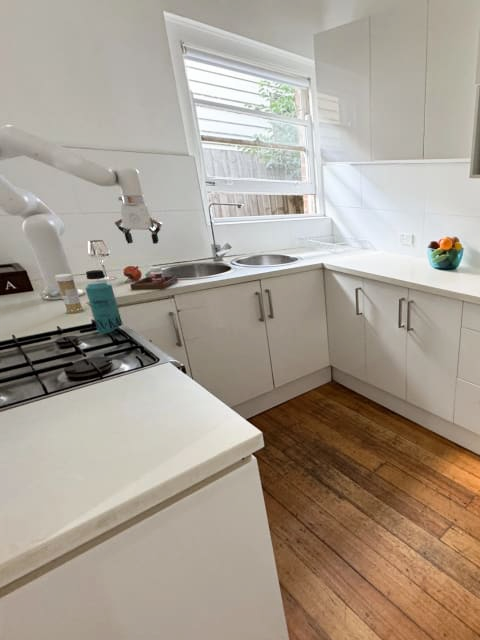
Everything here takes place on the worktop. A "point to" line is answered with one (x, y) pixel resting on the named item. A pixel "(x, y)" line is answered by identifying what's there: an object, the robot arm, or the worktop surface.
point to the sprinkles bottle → (69, 292)
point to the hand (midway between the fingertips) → (143, 243)
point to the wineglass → (99, 254)
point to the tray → (148, 284)
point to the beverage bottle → (102, 303)
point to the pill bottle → (157, 275)
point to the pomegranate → (132, 273)
